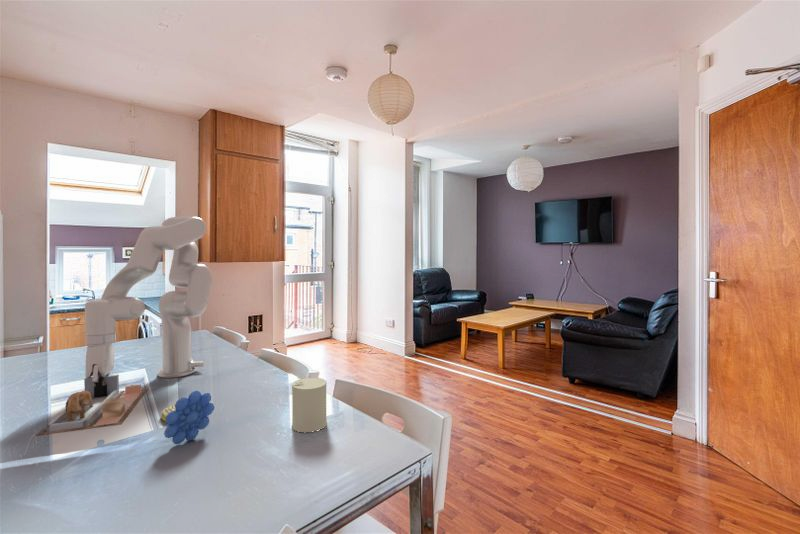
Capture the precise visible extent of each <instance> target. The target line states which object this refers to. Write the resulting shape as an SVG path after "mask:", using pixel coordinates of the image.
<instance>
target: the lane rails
mask: <svg viewBox="0 0 800 534" xmlns="http://www.w3.org/2000/svg"><path fill="white" fill-rule="evenodd" d="M148 389H149V388H147V387H146V388H143V389H142V392H141V393H140V394H139V396H138V397H137V398H136V399H135V401H134V402H132V404H130V405H131V406H130V407H129V408H128V409H127V411H126V412H125V413H124V415H123V416H122V417H121V418H120V420H119V421H118V422H116V423H108V424H101V425H96V424H97V423H98V421H99V420H100V419H101V418H102V417H103V410H102V411H101V413H100V414H99V415H98V416H97V417H96V418H95V419H94V420H93V421H92V422H91V423H90V424H89V425H88V426H87V427H82V428H74V429H67V430H59V431H52V432H46V428H45V427H43V428H42V429H41V430H40V431H39V432H38V433H36V434H35V436H43V435H50V434H51V435H53V434H59V433H66V432H67V433H69V432H73V431H81V430H91V429H95V428H103V427H110V426H111V427H112V426H118V425H120V426H121V425H122V424H123V422H125V420H126V419H127V418H128V417H129V415H130V414H131V412H132V411H133V409H134V408H135V407H136V406H137V404H138V403H139V402H140V401H141V399H142V398H143V397H144V395H145V394H146V393H147V391H148ZM124 393H125V390H121V391H119V393H118V395H117V396H116V397H115V398H119V397H121V396H122V395H123V394H124Z"/></svg>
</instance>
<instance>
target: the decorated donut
mask: <svg viewBox="0 0 800 534" xmlns="http://www.w3.org/2000/svg"><path fill="white" fill-rule="evenodd" d="M175 404H176V403H173V404H171V405H169V406H166V407H165V408H164V409H162V411H161V417H160V418H161V419H162V421H163V422H165V423H166V421H165V419H166V416H167V415H168V413H170V412H171V411H175V410H176V409H175Z"/></svg>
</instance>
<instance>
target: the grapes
mask: <svg viewBox="0 0 800 534" xmlns="http://www.w3.org/2000/svg"><path fill="white" fill-rule="evenodd" d="M211 400H212V395H211V393H209V392H205V393H203V394H202V393H201V391H200V390H194V391H192V392H191V393H190V394H189V395H188V397H186V396H184V397H183V396H182V397H180V398H179V399H177V401H176V402H175V403H174V404H175V409H176V410H175V411H171V412H170V413H168V415H167V416H166V419H165V421H166V422H165V421H164V422H165V424H167V425H168V426H167V427H166V428H165V429H164V433H163V434H164V436H165V437H164V438H167V439H170V438H171V440H172V443H173V444H174V445H179V444H181V443H183V442H184V441H185V440H186V441H188V442H191V441H193V440H195V439H196V438H197V437H198V435H199V430H204V429H206V428H207V427H208V425H209V423H210V418H209V417H210V415H212V414H213V412H214V411H215V404H214V403H212V402H211Z"/></svg>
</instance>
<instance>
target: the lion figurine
mask: <svg viewBox="0 0 800 534" xmlns="http://www.w3.org/2000/svg"><path fill="white" fill-rule="evenodd" d="M92 399H93V397H91V394H90V392H88V391H85V390H82V391H77V392H74V393H72V394H71V395H69V397H68V398H67V400H66V402H65V407H64V408H65V409H66V412H67V415H68V416H67V419H68V422H72V421H74V419H73V416H74V415H75V416H76V415H79V420H80V419H81V420H82V419H85V414H86V409H85V408H87V407H88V405H89V408H90V409H91V408H93V407H94V403H93V401H92Z"/></svg>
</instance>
